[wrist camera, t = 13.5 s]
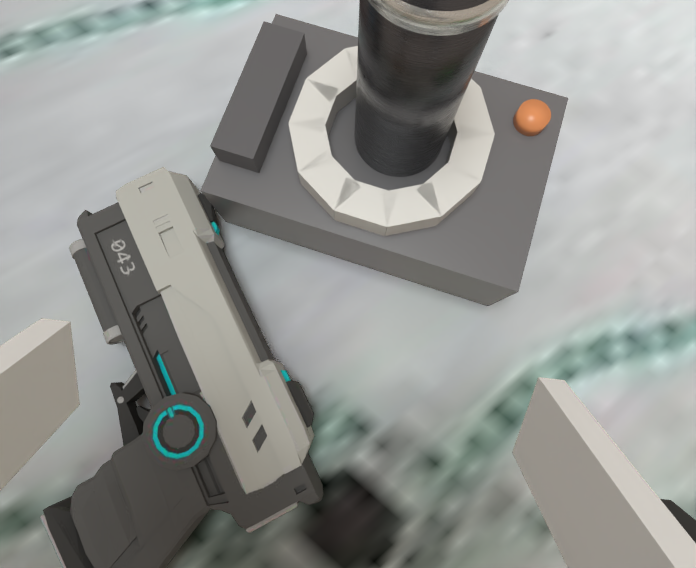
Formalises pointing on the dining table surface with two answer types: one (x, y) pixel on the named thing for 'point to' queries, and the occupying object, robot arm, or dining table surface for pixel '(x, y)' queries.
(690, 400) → the dining table surface
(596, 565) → the robot arm
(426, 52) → the lens
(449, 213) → the camera body
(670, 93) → the dining table surface
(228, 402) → the handgun
